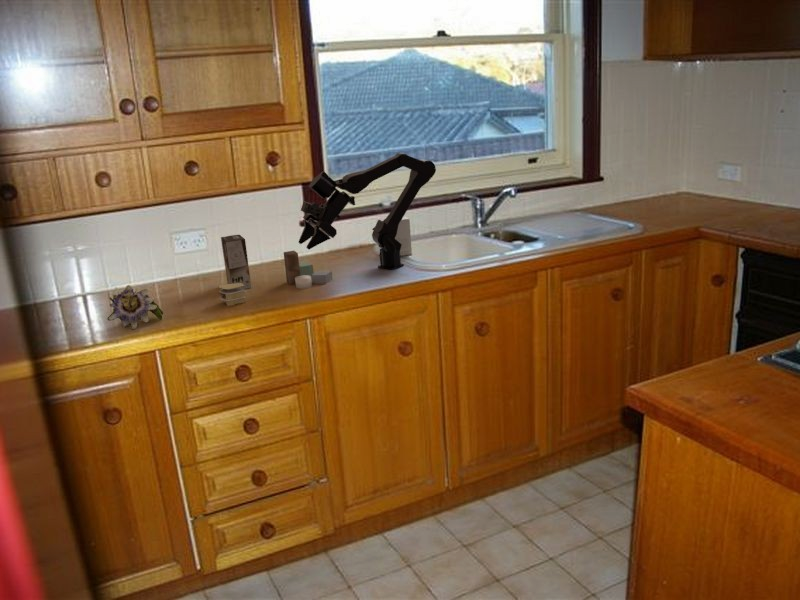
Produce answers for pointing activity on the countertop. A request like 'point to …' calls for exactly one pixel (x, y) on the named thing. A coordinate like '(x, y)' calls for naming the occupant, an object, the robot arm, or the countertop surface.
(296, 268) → the walnut block
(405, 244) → the small box
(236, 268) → the coffee box
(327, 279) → the grey block
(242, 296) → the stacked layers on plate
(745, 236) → the countertop surface
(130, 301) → the passion flower
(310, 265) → the green block
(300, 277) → the white tub
